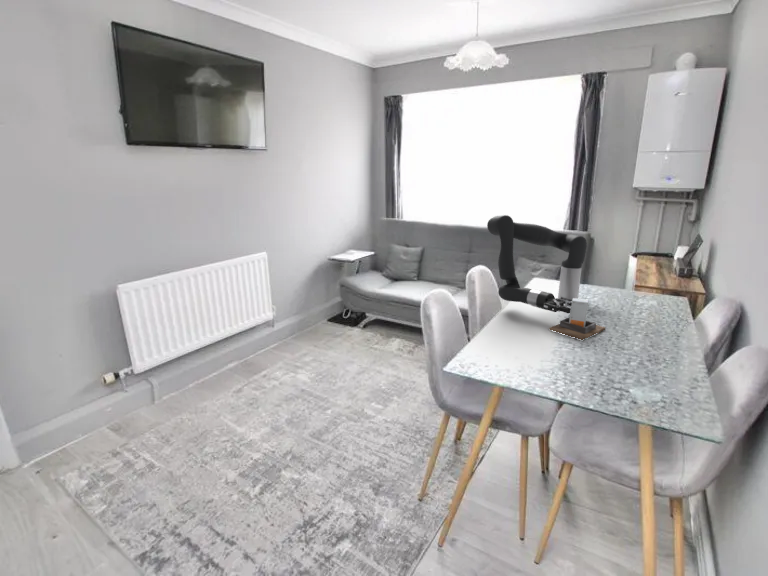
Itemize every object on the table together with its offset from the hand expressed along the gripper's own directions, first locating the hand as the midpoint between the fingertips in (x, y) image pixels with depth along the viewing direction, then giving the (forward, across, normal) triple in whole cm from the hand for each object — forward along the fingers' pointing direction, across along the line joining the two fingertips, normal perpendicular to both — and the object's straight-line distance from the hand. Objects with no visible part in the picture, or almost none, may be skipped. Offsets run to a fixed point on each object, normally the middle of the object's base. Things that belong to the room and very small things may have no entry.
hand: (575, 308), depth 162 cm
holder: (+2, 0, +9) cm, 9 cm away
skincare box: (+2, 0, +8) cm, 8 cm away
